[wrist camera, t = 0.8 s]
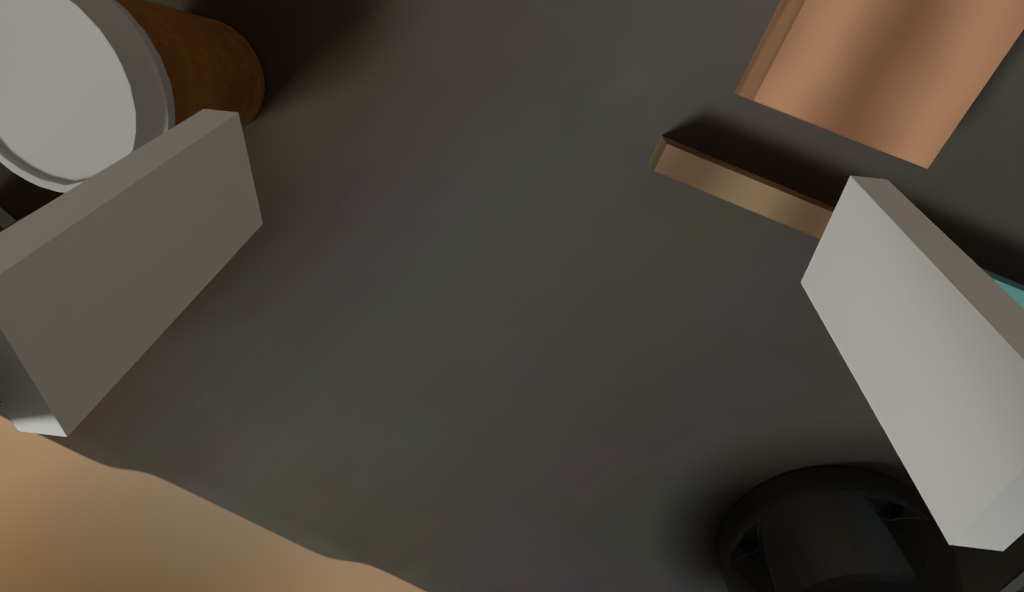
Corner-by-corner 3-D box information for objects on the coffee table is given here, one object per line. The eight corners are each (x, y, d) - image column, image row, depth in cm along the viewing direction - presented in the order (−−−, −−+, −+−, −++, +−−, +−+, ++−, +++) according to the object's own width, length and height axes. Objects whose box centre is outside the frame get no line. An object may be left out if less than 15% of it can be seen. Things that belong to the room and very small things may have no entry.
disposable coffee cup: (213, -51, 31) (9, -101, 20) (322, 102, 34) (192, 130, 23) (111, 50, 34) (-114, 53, 23) (217, 183, 37) (60, 241, 26)
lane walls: (1216, -88, 25) (1292, -104, 22) (931, 276, 33) (961, 297, 30) (846, -250, 24) (878, -286, 22) (649, 160, 33) (654, 170, 30)
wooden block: (998, -25, 27) (1068, -37, 23) (884, 152, 31) (927, 168, 27) (826, -94, 27) (867, -119, 23) (732, 92, 31) (753, 100, 27)
